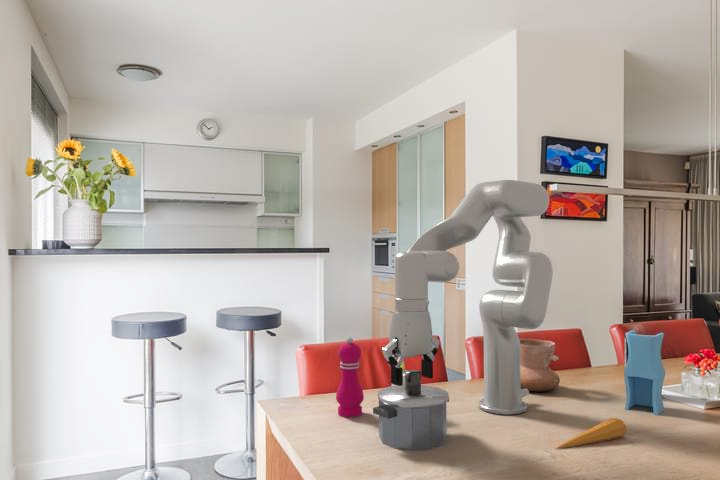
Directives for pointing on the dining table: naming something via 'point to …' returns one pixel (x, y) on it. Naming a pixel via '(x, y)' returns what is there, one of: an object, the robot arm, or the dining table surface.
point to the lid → (413, 393)
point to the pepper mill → (349, 381)
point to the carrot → (598, 433)
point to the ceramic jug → (537, 365)
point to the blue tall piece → (644, 371)
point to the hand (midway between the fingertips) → (412, 381)
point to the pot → (412, 426)
